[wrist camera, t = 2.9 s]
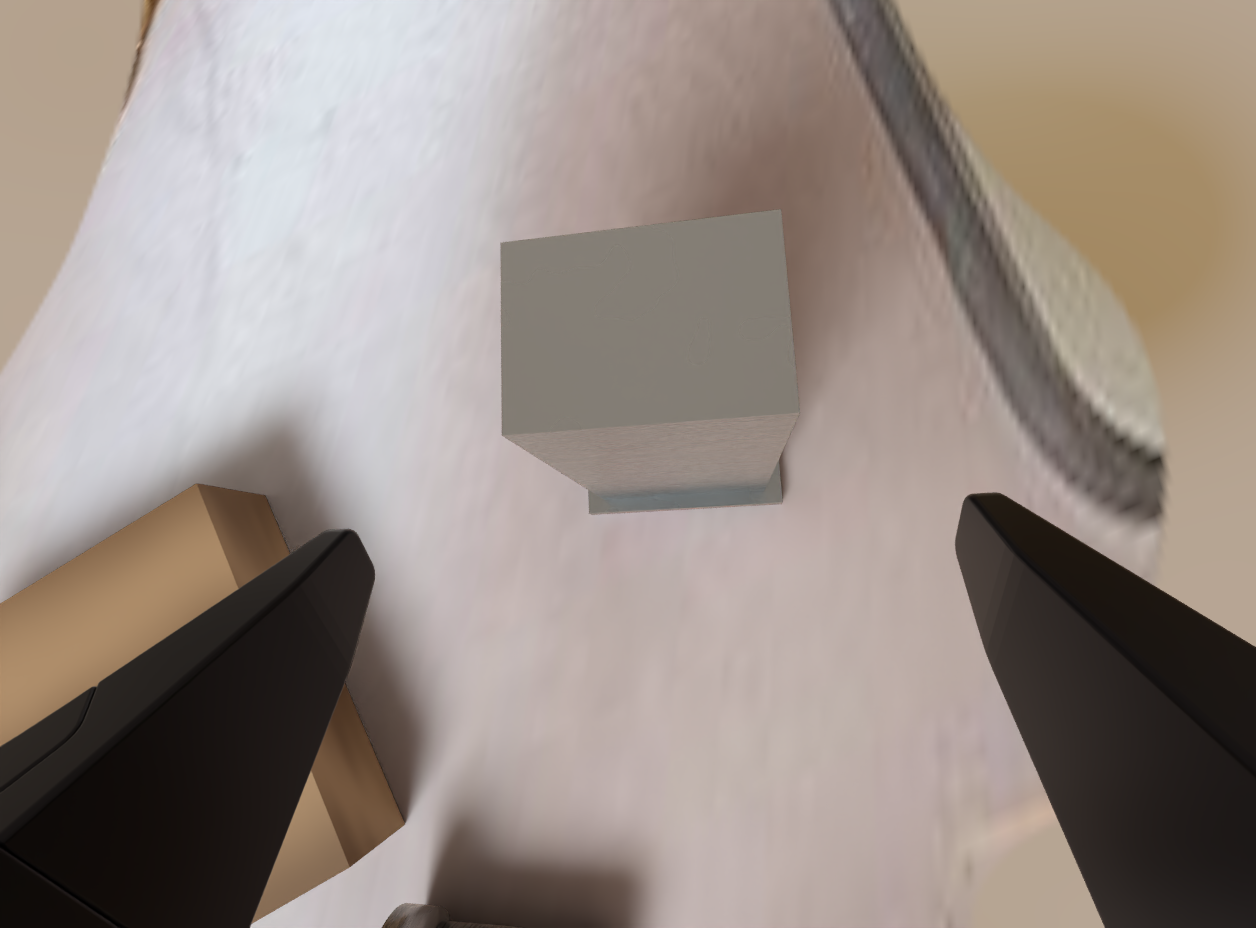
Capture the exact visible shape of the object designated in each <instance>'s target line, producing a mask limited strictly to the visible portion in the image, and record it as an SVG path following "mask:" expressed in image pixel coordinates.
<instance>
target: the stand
mask: <svg viewBox="0 0 1256 928" xmlns="http://www.w3.org/2000/svg"><path fill="white" fill-rule="evenodd" d="M288 555H290V553H289V551H288V548H287V546H286V543H285V541H284V539H283V536H282V534H281V532H280V529H279V527H278V525H277V522H276V520H275V518H274V515H273V513H272V511H271V508H270V506H269V503H268V501H267V499H266V496H265V495H259V494H254V493H248V492H242V491H237V490H231V489H225V488H219V487H214V486H208V485H202V484H195V485H193V486H192V487H190V488H188V489H187V490H185V491H183V492H182V493H180V494H179V495H177V496H175V497H174V498H172V499H170V500H169V501H167V502H166V503H164V504H162V505H161V506H159V507H157V508H156V509H154V510H152V511H151V512H149V513H148V514H146V515H144V516H143V517H141V518H139V519H138V520H136V521H135V522H133V523H131V524H130V525H128V526H126V527H125V528H123V529H121V530H120V531H118V532H117V533H115V534H113V535H112V536H110V537H108V538H107V539H105V540H104V541H102V542H100V543H99V544H97V545H95V546H94V547H92V548H90V549H89V550H87V551H86V552H84V553H82V554H81V555H79V556H77V557H76V558H74V559H73V560H71V561H69V562H68V563H66V564H64V565H63V566H61V567H60V568H58V569H56V570H55V571H53V572H51V573H50V574H48V575H46V576H45V577H43V578H42V579H40V580H38V581H37V582H35V583H33V584H32V585H30V586H29V587H27V588H25V589H24V590H22V591H20V592H19V593H17V594H15V595H14V596H12V597H11V598H9V599H7V600H6V601H4V602H2V603H1V604H0V746H2V745H3V744H5V743H6V742H8V741H10V740H11V739H13V738H14V737H16V736H18V735H19V734H21V733H22V732H24V731H25V730H27V729H29V728H30V727H32V726H33V725H35V724H36V723H38V722H39V721H41V720H42V719H44V718H45V717H47V716H48V715H50V714H52V713H53V712H55V711H56V710H58V709H59V708H61V707H62V706H64V705H65V704H67V703H68V702H70V701H71V700H73V699H74V698H76V697H77V696H79V695H80V694H82V693H83V692H85V691H86V690H88V689H89V688H91V687H93V686H97V685H98V683H99V682H100V681H101V680H103V679H104V678H106V677H107V676H109V675H110V674H112V673H113V672H115V671H116V670H118V669H119V668H121V667H122V666H124V665H125V664H127V663H128V662H130V661H131V660H133V659H134V658H136V657H137V656H139V655H140V654H142V653H143V652H145V651H146V650H148V649H149V648H151V647H152V646H154V645H155V644H157V643H158V642H160V641H161V640H163V639H164V638H166V637H167V636H169V635H170V634H172V633H173V632H175V631H176V630H178V629H179V628H181V627H182V626H184V625H185V624H187V623H188V622H190V621H191V620H192V619H194V618H195V617H197V616H198V615H200V614H201V613H203V612H204V611H206V610H207V609H209V608H210V607H212V606H213V605H215V604H216V603H218V602H219V601H221V600H222V599H224V598H225V597H227V596H228V595H230V594H231V593H233V592H234V591H236V590H237V589H239V588H240V587H242V586H243V585H245V584H246V583H248V582H249V581H251V580H252V579H254V578H255V577H257V576H258V575H260V574H261V573H263V572H264V571H266V570H267V569H269V568H270V567H272V566H273V565H275V564H276V563H278V562H279V561H281V560H282V559H284V558H285V557H287V556H288ZM404 825H405V823H404V821H403V819H402V816H401V814H400V812H399V809H398V807H397V805H396V802H395V800H394V797H393V795H392V793H391V790H390V788H389V786H388V783H387V781H386V779H385V776H384V774H383V772H382V769H381V767H380V765H379V762H378V760H377V757H376V755H375V753H374V750H373V748H372V746H371V743H370V741H369V739H368V736H367V734H366V732H365V729H364V727H363V725H362V722H361V720H360V717H359V715H358V713H357V710H356V708H355V706H354V703H353V701H352V699H351V696H350V694H349V692H348V689H347V687H346V685H345V684H344V687H343V689H342V692H341V695H340V697H339V700H338V702H337V705H336V707H335V710H334V713H333V715H332V718H331V720H330V723H329V725H328V728H327V731H326V733H325V736H324V738H323V741H322V743H321V746H320V749H319V751H318V754H317V756H316V759H315V761H314V764H313V767H312V769H311V772H310V774H309V777H308V779H307V782H306V785H305V787H304V790H303V792H302V795H301V797H300V800H299V803H298V805H297V808H296V810H295V813H294V815H293V818H292V821H291V823H290V826H289V828H288V831H287V833H286V836H285V839H284V841H283V844H282V846H281V849H280V852H279V854H278V857H277V859H276V862H275V864H274V867H273V870H272V872H271V875H270V877H269V880H268V882H267V885H266V888H265V890H264V893H263V895H262V898H261V900H260V903H259V906H258V908H257V911H256V913H255V916H254V918H253V921H252V923H254V922H255V921H257V920H259V919H261V918H262V917H264V916H266V915H268V914H269V913H271V912H273V911H275V910H276V909H278V908H280V907H282V906H283V905H285V904H287V903H288V902H290V901H292V900H294V899H295V898H297V897H299V896H301V895H302V894H304V893H306V892H308V891H309V890H311V889H313V888H315V887H316V886H318V885H320V884H321V883H323V882H325V881H327V880H328V879H330V878H332V877H334V876H335V875H337V874H339V873H341V872H342V871H344V870H346V869H348V868H349V867H351V866H352V865H353V864H355V863H356V862H357V861H358V860H360V859H361V858H362V857H364V856H365V855H366V854H367V853H369V852H370V851H371V850H373V849H374V848H375V847H376V846H378V845H379V844H380V843H382V842H383V841H384V840H386V839H387V838H388V837H389V836H391V835H392V834H393V833H395V832H396V831H397V830H398V829H400V828H401V827H402V826H404Z"/></svg>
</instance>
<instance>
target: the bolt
mask: <svg viewBox="0 0 1256 928" xmlns="http://www.w3.org/2000/svg"><path fill="white" fill-rule="evenodd" d="M382 928H521V927H510V926H499V925H488V924H477V923H466V922H454V921H451V920H450V917H449V914H448V912H447V910H446V909H445V908H444V907H443V906H434V905H423V904H411V903H405V904H402V905H400V906H399V907H397V908H396V909H395V910H394V911H393V912H392V913H391V915H390V916H389V917H388V919H387V920H386V922H385V923H384V925H383V927H382Z"/></svg>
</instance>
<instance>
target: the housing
mask: <svg viewBox="0 0 1256 928" xmlns="http://www.w3.org/2000/svg"><path fill="white" fill-rule="evenodd" d="M501 376H502V436H503V437H505V438H507V439H508V440H510V441H511V442H513V443H515V444H516V445H518V446H519V447H521V448H522V449H524V450H526V451H527V452H529V453H530V454H532V455H534V456H535V457H537V458H538V459H540V460H542V461H543V462H545V463H546V464H548V465H550V466H551V467H553V468H554V469H556V470H557V471H559V472H561V473H562V474H564V475H565V476H567V477H569V478H570V479H572V480H573V481H575V482H577V483H578V484H580V485H581V486H583V487H585V488H586V489H588V491H589V514H592V515H598V514H616V513H633V512H651V511H668V510H686V509H704V508H721V507H739V506H756V505H774V504H782V502H783V501H782V490H781V478H780V466H779V458H780V456H781V453H782V451H783V449H784V447H785V445H786V442H787V440H788V438H789V436H790V434H791V431H792V429H793V427H794V425H795V423H796V420H797V418H798V416H799V414H800V408H799V397H798V386H797V375H796V364H795V354H794V343H793V332H792V321H791V310H790V300H789V289H788V278H787V267H786V256H785V246H784V235H783V224H782V213H781V209H778V210H770V211H761V212H753V213H745V214H736V215H728V216H720V217H711V218H703V219H695V220H686V221H678V222H670V223H661V224H653V225H645V226H636V227H628V228H620V229H611V230H603V231H595V232H587V233H578V234H570V235H562V236H553V237H545V238H537V239H528V240H520V241H512V242H503V243H501Z"/></svg>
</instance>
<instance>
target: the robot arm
mask: <svg viewBox="0 0 1256 928" xmlns="http://www.w3.org/2000/svg"><path fill="white" fill-rule="evenodd" d="M955 549H956V555H957V559H958V562H959V565H960V569H961V572H962V576H963V579H964V582H965V586H966V589H967V592H968V596H969V599H970V603H971V606H972V609H973V613H974V616H975V619H976V623H977V626H978V630H979V633H980V636H981V639H982V642H983V646H984V649H985V652H986V654H987V657H988V659H989V662H990V664H991V667H992V669H993V672H994V674H995V676H996V679H997V681H998V683H999V685H1000V688H1001V690H1002V692H1003V695H1004V697H1005V699H1006V702H1007V704H1008V706H1009V708H1010V711H1011V713H1012V715H1013V718H1014V720H1015V722H1016V725H1017V727H1018V729H1019V731H1020V734H1021V736H1022V738H1023V741H1024V743H1025V745H1026V747H1027V750H1028V752H1029V754H1030V757H1031V759H1032V761H1033V764H1034V766H1035V768H1036V770H1037V773H1038V775H1039V777H1040V780H1041V782H1042V784H1043V787H1044V789H1045V791H1046V793H1047V796H1048V798H1049V800H1050V803H1051V805H1052V807H1053V810H1054V812H1055V814H1056V816H1057V819H1058V821H1059V823H1060V826H1061V828H1062V830H1063V832H1064V835H1065V837H1066V839H1067V842H1068V844H1069V846H1070V848H1071V851H1072V853H1073V855H1074V858H1075V860H1076V862H1077V864H1078V867H1079V869H1080V871H1081V874H1082V876H1083V878H1084V881H1085V883H1086V885H1087V888H1088V890H1089V892H1090V894H1091V897H1092V899H1093V901H1094V904H1095V906H1096V908H1097V911H1098V913H1099V915H1100V917H1101V920H1102V922H1103V924H1104V926H1105V928H1256V647H1255V646H1253V645H1251V644H1250V643H1248V642H1246V641H1245V640H1243V639H1241V638H1240V637H1238V636H1236V635H1235V634H1233V633H1231V632H1230V631H1228V630H1226V629H1225V628H1223V627H1222V626H1220V625H1218V624H1217V623H1215V622H1213V621H1212V620H1210V619H1208V618H1207V617H1205V616H1203V615H1202V614H1200V613H1198V612H1197V611H1195V610H1193V609H1192V608H1190V607H1188V606H1187V605H1185V604H1184V603H1182V602H1180V601H1178V600H1177V599H1175V598H1174V597H1172V596H1170V595H1169V594H1167V593H1165V592H1164V591H1162V590H1160V589H1159V588H1157V587H1155V586H1154V585H1152V584H1150V583H1149V582H1147V581H1145V580H1144V579H1142V578H1141V577H1139V576H1137V575H1136V574H1134V573H1132V572H1131V571H1129V570H1127V569H1126V568H1124V567H1122V566H1121V565H1119V564H1117V563H1116V562H1114V561H1112V560H1111V559H1109V558H1107V557H1106V556H1104V555H1103V554H1101V553H1099V552H1098V551H1096V550H1094V549H1093V548H1091V547H1089V546H1088V545H1086V544H1084V543H1083V542H1081V541H1079V540H1078V539H1076V538H1074V537H1073V536H1071V535H1069V534H1068V533H1066V532H1064V531H1063V530H1061V529H1060V528H1058V527H1056V526H1055V525H1053V524H1051V523H1050V522H1048V521H1046V520H1045V519H1043V518H1041V517H1040V516H1038V515H1036V514H1035V513H1033V512H1031V511H1030V510H1028V509H1026V508H1025V507H1023V506H1022V505H1020V504H1018V503H1017V502H1015V501H1013V500H1012V499H1010V498H1008V497H1007V496H1005V495H1003V494H1001V493H977V494H970V495H968V496H967V497H966V498H965V500H964V502H963V505H962V510H961V515H960V520H959V524H958V529H957V534H956V539H955ZM374 580H375V570H374V566H373V564H372V562H371V560H370V558H369V556H368V554H367V552H366V550H365V548H364V546H363V544H362V542H361V540H360V538H359V536H358V534H357V533H356V532H355V531H354V530H351V529H333V530H327V531H324V532H323V533H321V534H320V535H318V536H317V537H315V538H314V539H312V540H311V541H309V542H308V543H306V544H305V545H303V546H302V547H300V548H299V549H297V550H296V551H294V552H293V553H291V554H290V555H288V556H287V557H285V558H284V559H282V560H281V561H279V562H278V563H276V564H275V565H273V566H272V567H270V568H269V569H267V570H266V571H264V572H263V573H261V574H260V575H258V576H257V577H255V578H254V579H252V580H251V581H249V582H248V583H246V584H245V585H243V586H242V587H240V588H239V589H237V590H236V591H234V592H233V593H231V594H230V595H228V596H227V597H225V598H224V599H222V600H221V601H219V602H218V603H216V604H215V605H213V606H212V607H210V608H209V609H207V610H206V611H204V612H203V613H201V614H200V615H198V616H197V617H195V618H194V619H192V620H191V621H190V622H188V623H187V624H185V625H184V626H182V627H181V628H179V629H178V630H176V631H175V632H173V633H172V634H170V635H169V636H167V637H166V638H164V639H163V640H161V641H160V642H158V643H157V644H155V645H154V646H152V647H151V648H149V649H148V650H146V651H145V652H143V653H142V654H140V655H139V656H137V657H136V658H134V659H133V660H131V661H130V662H128V663H127V664H125V665H124V666H122V667H121V668H119V669H118V670H116V671H115V672H113V673H112V674H110V675H109V676H107V677H106V678H104V679H103V680H101V681H100V682H99V683H98V685H97V686H93V687H91V688H89V689H88V690H86V691H85V692H83V693H82V694H80V695H79V696H77V697H76V698H74V699H73V700H71V701H70V702H68V703H67V704H65V705H64V706H62V707H61V708H59V709H58V710H56V711H55V712H53V713H52V714H50V715H48V716H47V717H45V718H44V719H42V720H41V721H39V722H38V723H36V724H35V725H33V726H32V727H30V728H29V729H27V730H25V731H24V732H22V733H21V734H19V735H18V736H16V737H14V738H13V739H11V740H10V741H8V742H6V743H5V744H3V745H2V746H0V928H250V926H251V924H252V921H253V918H254V916H255V913H256V911H257V908H258V906H259V903H260V900H261V898H262V895H263V893H264V890H265V888H266V885H267V882H268V880H269V877H270V875H271V872H272V870H273V867H274V864H275V862H276V859H277V857H278V854H279V852H280V849H281V846H282V844H283V841H284V839H285V836H286V833H287V831H288V828H289V826H290V823H291V821H292V818H293V815H294V813H295V810H296V808H297V805H298V803H299V800H300V797H301V795H302V792H303V790H304V787H305V785H306V782H307V779H308V777H309V774H310V772H311V769H312V767H313V764H314V761H315V759H316V756H317V754H318V751H319V749H320V746H321V743H322V741H323V738H324V736H325V733H326V731H327V728H328V725H329V723H330V720H331V718H332V715H333V713H334V710H335V707H336V705H337V702H338V700H339V697H340V695H341V692H342V689H343V687H344V684H345V682H346V679H347V676H348V673H349V670H350V668H351V664H352V661H353V658H354V655H355V651H356V647H357V644H358V640H359V636H360V633H361V629H362V625H363V622H364V618H365V614H366V610H367V607H368V603H369V599H370V596H371V592H372V588H373V585H374Z"/></svg>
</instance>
